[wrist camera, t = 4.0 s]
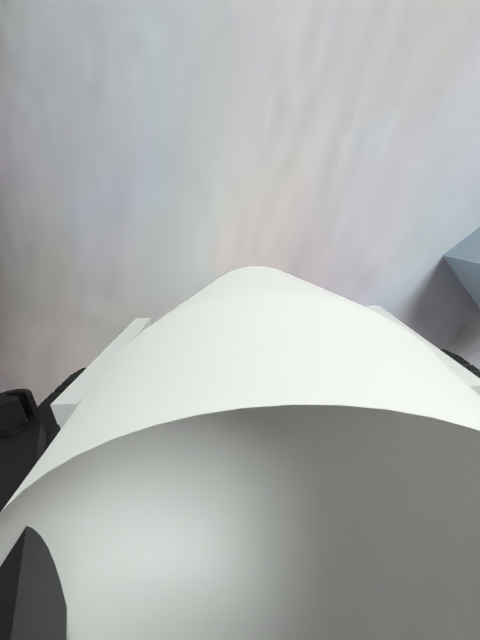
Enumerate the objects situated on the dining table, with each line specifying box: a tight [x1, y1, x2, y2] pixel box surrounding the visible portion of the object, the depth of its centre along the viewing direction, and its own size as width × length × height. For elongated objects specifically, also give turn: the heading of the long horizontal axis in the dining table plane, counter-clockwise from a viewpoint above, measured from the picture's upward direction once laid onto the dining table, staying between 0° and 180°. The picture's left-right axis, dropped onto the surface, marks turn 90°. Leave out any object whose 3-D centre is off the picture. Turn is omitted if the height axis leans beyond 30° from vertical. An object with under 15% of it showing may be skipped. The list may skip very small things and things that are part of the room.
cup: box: [0, 266, 480, 640], centre depth 10 cm, size 9×9×12 cm
